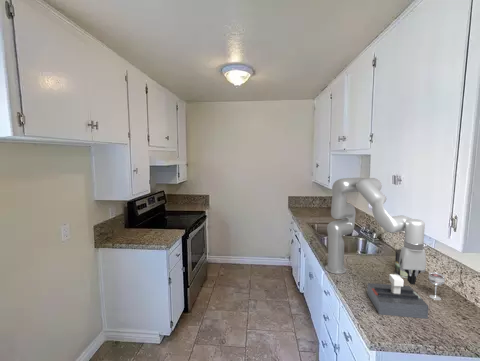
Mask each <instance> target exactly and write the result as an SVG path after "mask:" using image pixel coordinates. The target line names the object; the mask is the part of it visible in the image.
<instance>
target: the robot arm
mask: <svg viewBox="0 0 480 361" xmlns="http://www.w3.org/2000/svg"><path fill="white" fill-rule="evenodd" d="M382 186H383V185H382V182H381V180H379V179H378V178H376V177H346V178H344V177H343V178H339V179H336V180H335V181H334V182H333V184H332V185H331V194H332V197H331V205H330V215H331V218H332V219H334V220H332V221H331V222H329V223H328V224H327V225H326V226H327V227H326V233H327V237H328V239H327V241H328V242H327V244H328V246H327V264H326V265H325V266H324V269H325V271H327V272H328V273H332V274H335V275H342V274H346V272H347V268H346V267H345V264H344V263H345V241H344V238H343V236H346V235H350V234H352V233H353V232H354V229H355V224H356V207H355V206H354V205H353V204H352V203H349V202H347V200H348V198H347V194H346V193H356V192H359V193H360V195H361V196H362V197H363V199H365V201H366V202H368V204H369V205H370V207H371V210H372V214H373V218H374V219H375V221H376V223H378V225H380V227H381V228H382V229H383V230H384V231H385V232H387V233H390V234H393V233H394V234H395V233H398V232H404V242H403V246H402V247H401V248H400V249H401V252H400V258H399V265H400V268H399V269H400V270H401V271H404V272H406V273H407V274H408V278H406V280H407V281H408V283H409V284H410V285H415V284H416V281H417V277H418V275H420V274H421V273H426V268H427V256H426V250H425V248H426V247H427V246H428V245H427V243H425V229H426V228H425V225H426V224H425V222H424V220H421V219H419V218H418V219H416V218H412V217H409V216H407V215H406V216H405V215H394V216H391V215H390V214H389V213H388V211H387V210H386V209H385V205H384V204H385V203H386V201H387V196H386V195H385V194H384V193H383V192H382V191H381V190H382Z"/></svg>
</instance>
